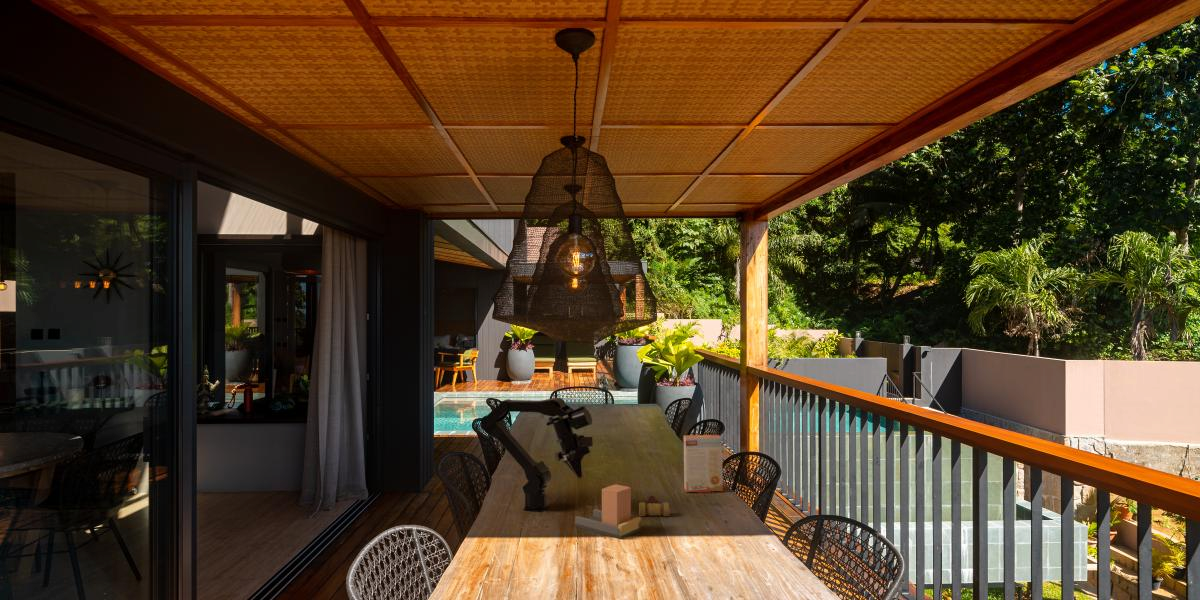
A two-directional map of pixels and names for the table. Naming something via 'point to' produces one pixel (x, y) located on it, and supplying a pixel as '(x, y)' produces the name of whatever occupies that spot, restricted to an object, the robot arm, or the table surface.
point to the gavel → (653, 508)
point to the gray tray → (608, 525)
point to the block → (616, 504)
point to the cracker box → (703, 463)
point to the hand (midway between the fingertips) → (580, 477)
